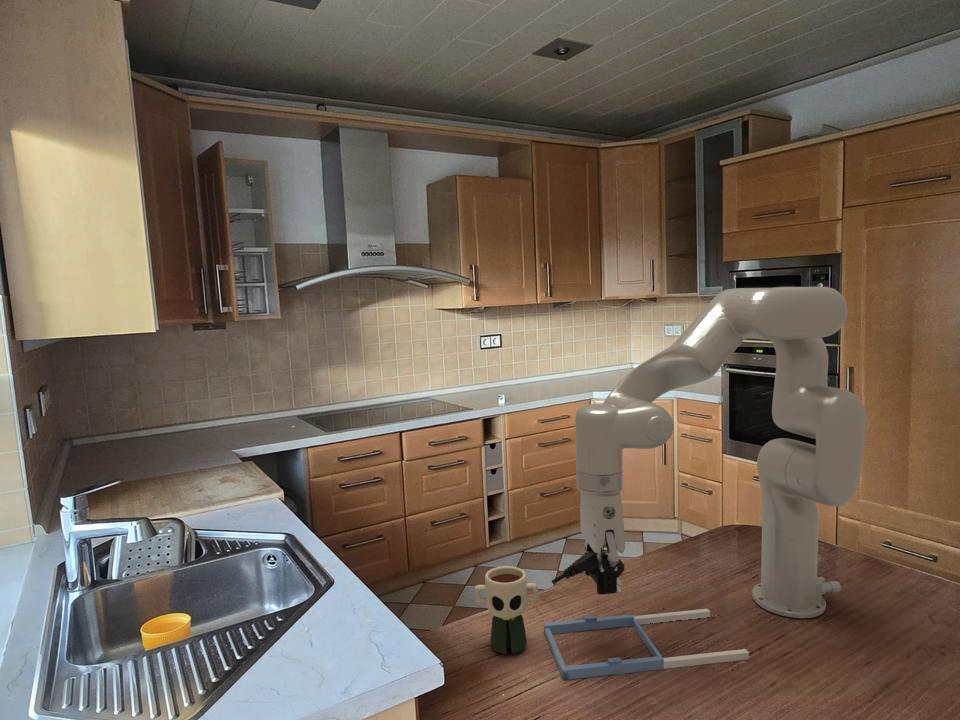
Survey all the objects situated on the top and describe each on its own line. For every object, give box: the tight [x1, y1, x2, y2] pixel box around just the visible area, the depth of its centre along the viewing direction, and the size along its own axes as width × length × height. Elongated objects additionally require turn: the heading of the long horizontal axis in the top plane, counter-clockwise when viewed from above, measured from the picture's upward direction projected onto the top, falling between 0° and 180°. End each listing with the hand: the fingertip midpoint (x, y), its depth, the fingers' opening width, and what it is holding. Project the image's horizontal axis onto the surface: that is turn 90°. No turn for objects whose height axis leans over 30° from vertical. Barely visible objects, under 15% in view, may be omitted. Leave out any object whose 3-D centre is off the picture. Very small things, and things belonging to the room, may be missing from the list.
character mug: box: [474, 565, 539, 654], centre depth 106 cm, size 11×7×13 cm, turn 88°
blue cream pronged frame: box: [543, 608, 750, 681], centre depth 106 cm, size 31×14×2 cm, turn 97°
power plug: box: [551, 548, 626, 594], centre depth 104 cm, size 6×8×12 cm
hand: (600, 582), depth 104 cm, fingers closed on power plug, 5 cm apart
